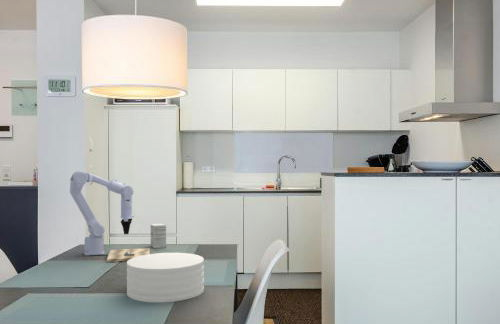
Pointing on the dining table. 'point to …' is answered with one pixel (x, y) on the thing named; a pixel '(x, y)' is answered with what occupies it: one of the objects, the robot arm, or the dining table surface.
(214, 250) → the dining table surface
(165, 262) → the plate stack
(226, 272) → the dining table surface
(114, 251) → the birch board
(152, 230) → the supplement box
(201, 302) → the dining table surface
